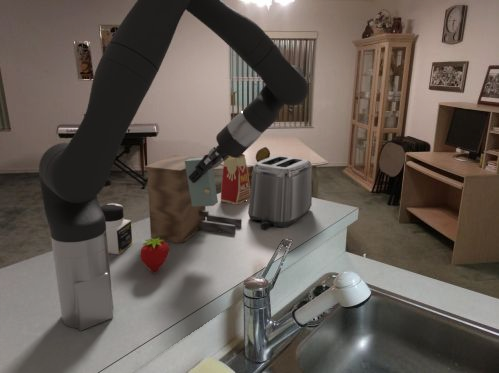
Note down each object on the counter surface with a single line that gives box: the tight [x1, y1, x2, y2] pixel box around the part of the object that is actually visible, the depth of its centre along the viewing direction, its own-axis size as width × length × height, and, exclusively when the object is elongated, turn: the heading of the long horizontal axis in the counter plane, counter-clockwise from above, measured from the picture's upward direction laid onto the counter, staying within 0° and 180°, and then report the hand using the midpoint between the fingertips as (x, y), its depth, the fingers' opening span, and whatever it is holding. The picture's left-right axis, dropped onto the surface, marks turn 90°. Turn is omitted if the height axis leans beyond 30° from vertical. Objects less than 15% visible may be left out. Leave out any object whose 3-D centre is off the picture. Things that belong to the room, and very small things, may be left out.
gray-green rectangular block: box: [185, 157, 219, 207], centre depth 95 cm, size 6×4×12 cm, turn 72°
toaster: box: [247, 155, 313, 231], centre depth 125 cm, size 17×30×19 cm, turn 148°
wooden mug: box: [247, 146, 271, 189], centre depth 150 cm, size 9×14×18 cm, turn 152°
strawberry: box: [139, 237, 170, 273], centre depth 88 cm, size 6×8×10 cm
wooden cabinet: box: [144, 154, 243, 244], centre depth 110 cm, size 22×18×21 cm
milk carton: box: [220, 153, 250, 206], centre depth 140 cm, size 9×9×20 cm
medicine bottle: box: [100, 203, 133, 255], centre depth 100 cm, size 7×7×12 cm
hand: (194, 178), depth 96 cm, fingers closed on gray-green rectangular block, 3 cm apart
